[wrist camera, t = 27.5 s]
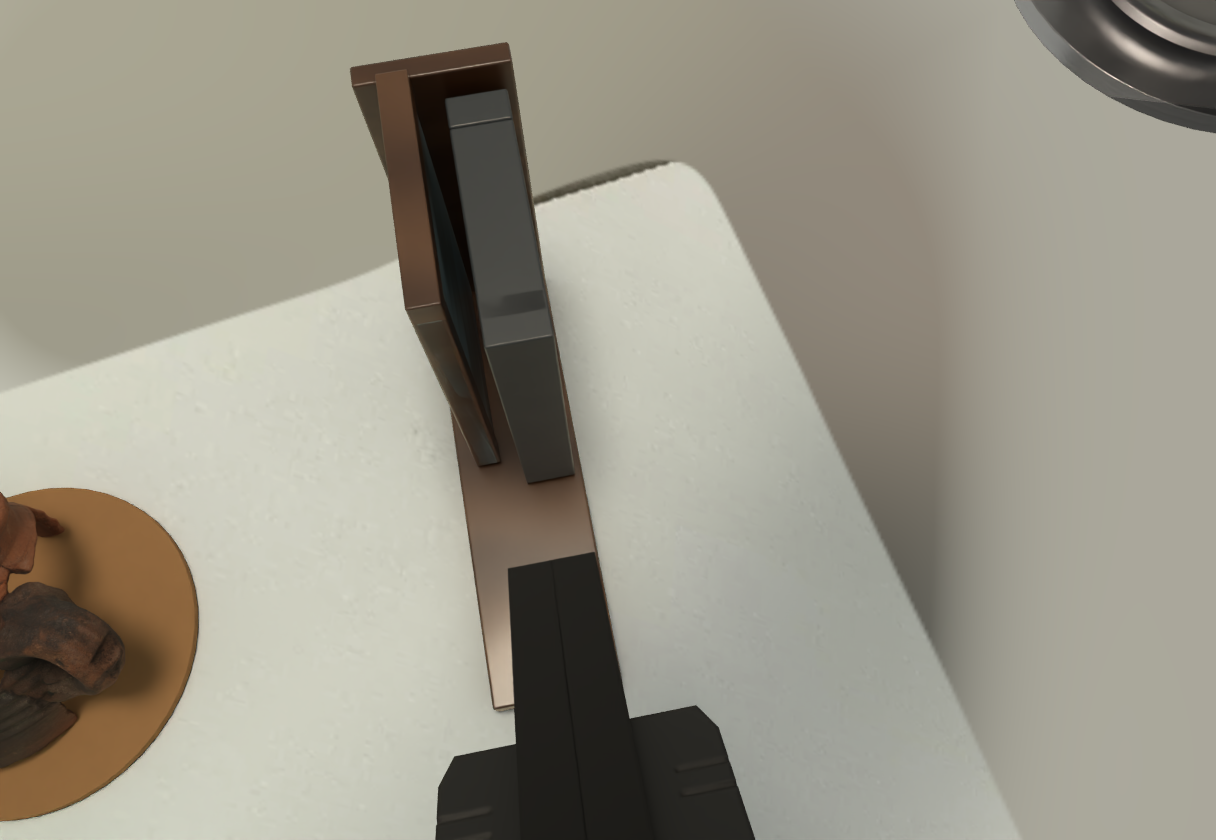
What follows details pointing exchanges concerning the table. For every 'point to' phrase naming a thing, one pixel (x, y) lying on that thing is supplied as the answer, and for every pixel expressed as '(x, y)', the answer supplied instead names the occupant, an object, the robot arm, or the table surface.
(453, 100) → the window sash
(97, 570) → the coaster
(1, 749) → the pottery mug
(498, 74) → the brown piece
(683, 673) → the table surface
